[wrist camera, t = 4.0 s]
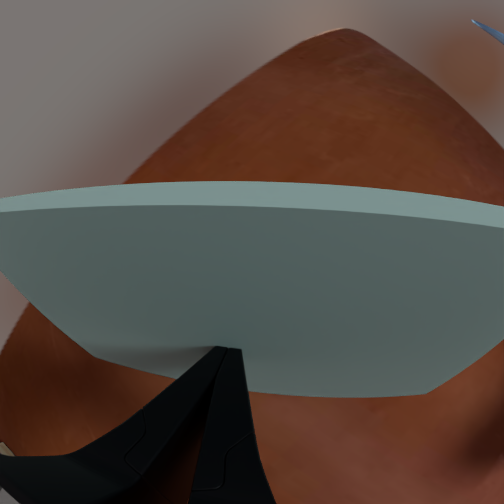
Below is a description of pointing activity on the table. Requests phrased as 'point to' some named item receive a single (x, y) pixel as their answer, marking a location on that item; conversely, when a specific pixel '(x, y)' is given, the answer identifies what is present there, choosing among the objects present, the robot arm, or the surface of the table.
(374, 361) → the box lid
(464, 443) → the table surface
